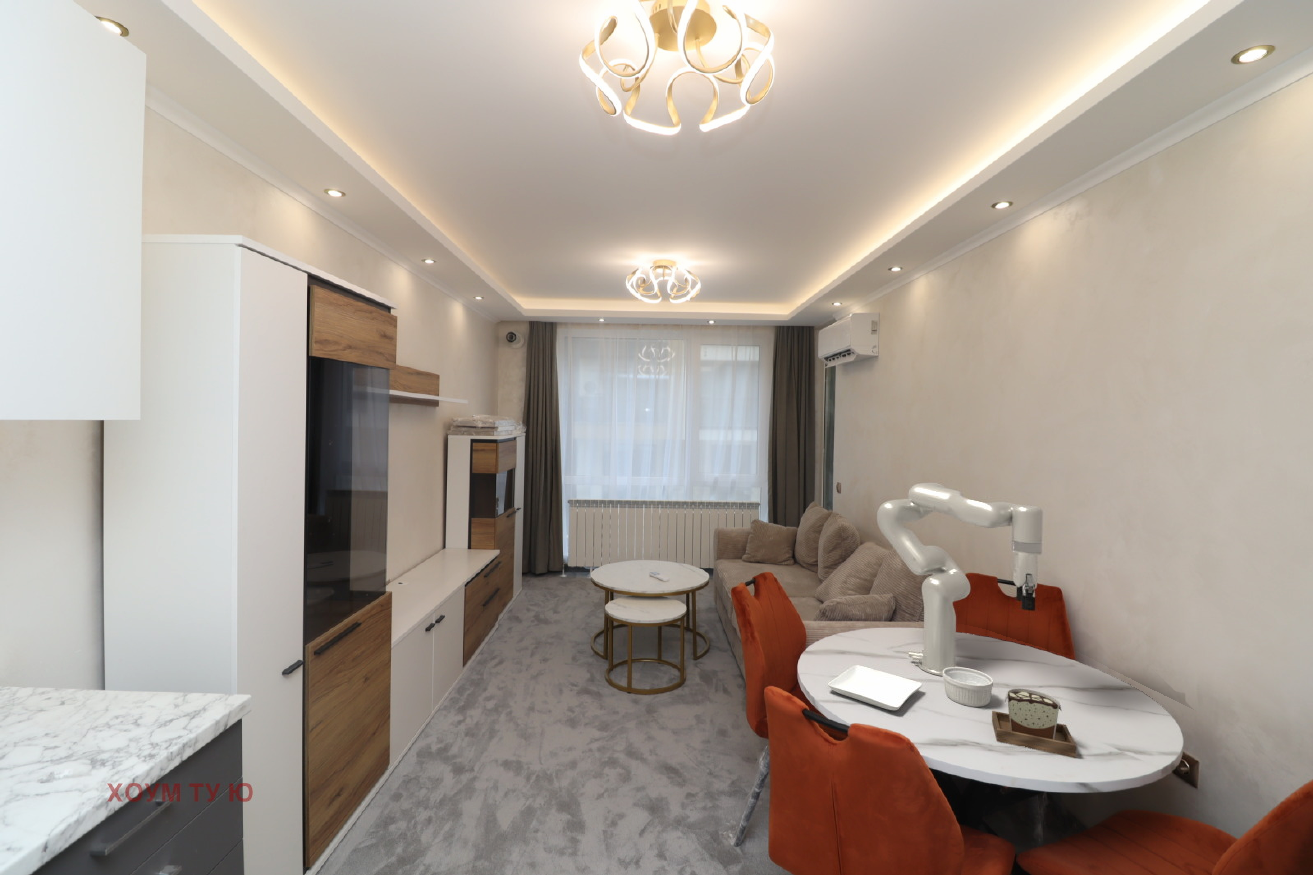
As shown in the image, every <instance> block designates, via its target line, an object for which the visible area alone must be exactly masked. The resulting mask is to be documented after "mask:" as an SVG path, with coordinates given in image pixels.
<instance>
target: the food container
mask: <svg viewBox="0 0 1313 875" xmlns="http://www.w3.org/2000/svg"><path fill="white" fill-rule="evenodd" d="M1004 697H1005V698H1004V702H1005V703H1006V702H1007V709H1008V714H1009V719H1010V730H1011V731H1013V732H1018V733H1023V734H1028V735H1033V736H1038V737H1043V738H1047V739H1052V740H1054V738H1055V731H1056V725H1057V723H1058V719H1059V718H1058V716H1059V710H1060V712H1062V707H1061V706H1062V705H1061V704H1060V702H1059V700H1057V699H1056V698H1055V697H1052V696H1051V695H1050V694H1046V693H1043V692H1041V691H1037V690H1033V689H1029V688H1028V689H1027V688H1012V689H1009V690H1008V691H1007V693H1006V694H1005V696H1004Z"/></svg>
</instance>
